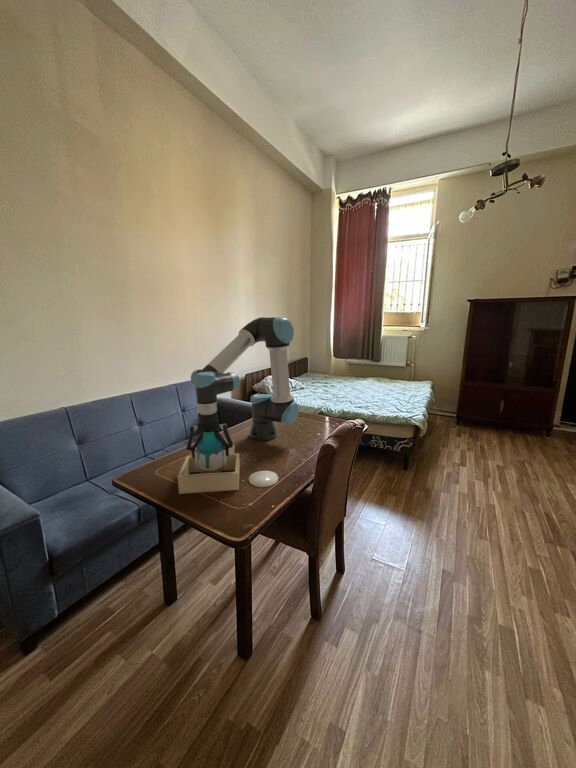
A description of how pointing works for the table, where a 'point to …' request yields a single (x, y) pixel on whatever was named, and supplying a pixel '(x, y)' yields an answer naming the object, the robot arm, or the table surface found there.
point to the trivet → (263, 478)
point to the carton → (209, 476)
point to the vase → (210, 454)
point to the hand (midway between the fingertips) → (211, 464)
